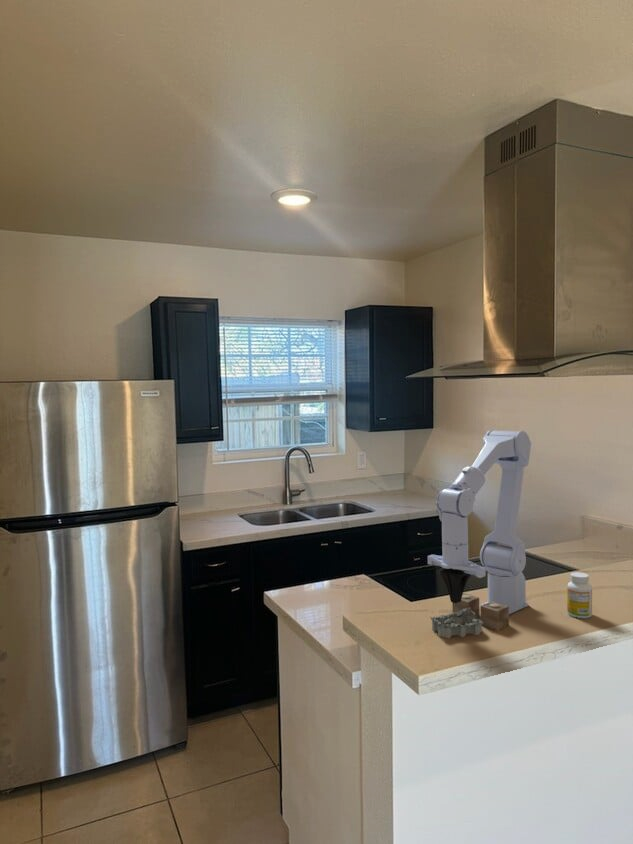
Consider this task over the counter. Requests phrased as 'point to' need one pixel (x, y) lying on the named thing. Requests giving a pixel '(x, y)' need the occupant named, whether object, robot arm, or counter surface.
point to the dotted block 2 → (495, 615)
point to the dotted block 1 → (467, 604)
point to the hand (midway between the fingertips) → (456, 601)
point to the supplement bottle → (579, 596)
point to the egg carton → (457, 624)
